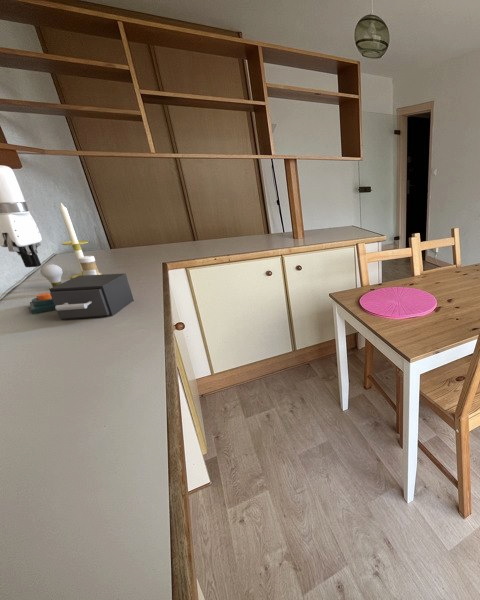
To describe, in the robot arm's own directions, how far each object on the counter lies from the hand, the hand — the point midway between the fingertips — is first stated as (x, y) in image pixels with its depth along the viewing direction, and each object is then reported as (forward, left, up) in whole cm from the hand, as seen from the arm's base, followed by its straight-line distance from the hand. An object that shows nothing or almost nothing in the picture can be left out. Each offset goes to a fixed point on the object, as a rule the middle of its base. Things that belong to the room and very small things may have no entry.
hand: (33, 266), depth 102 cm
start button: (+1, +2, -12) cm, 12 cm away
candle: (+29, +34, -15) cm, 47 cm away
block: (+1, +2, -15) cm, 15 cm away
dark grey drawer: (+2, -18, -14) cm, 23 cm away
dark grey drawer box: (+6, -16, -15) cm, 23 cm away
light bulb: (+14, +24, -15) cm, 32 cm away
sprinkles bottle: (+19, +9, -15) cm, 26 cm away
